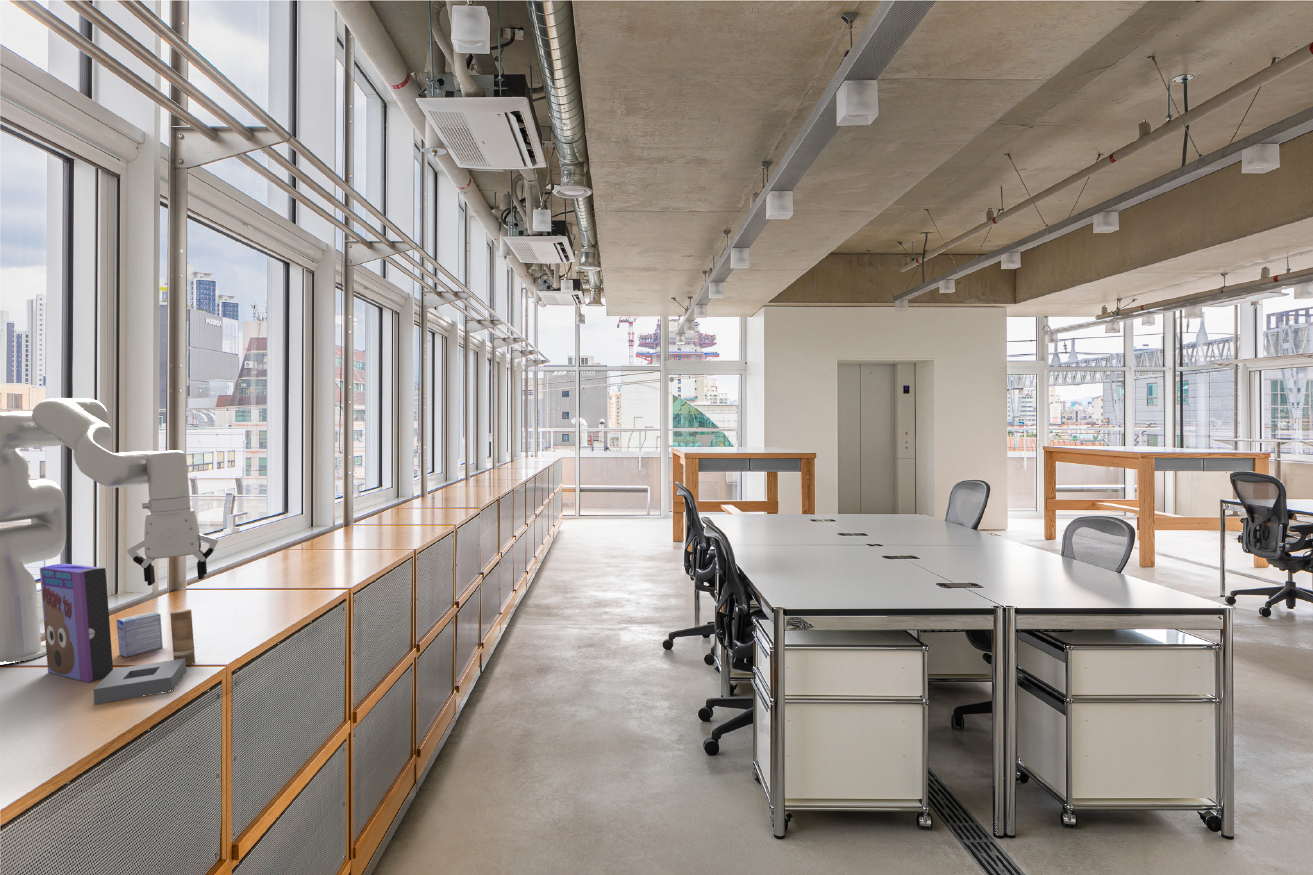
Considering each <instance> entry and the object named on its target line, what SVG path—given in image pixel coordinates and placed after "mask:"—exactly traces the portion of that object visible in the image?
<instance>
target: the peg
mask: <svg viewBox="0 0 1313 875" xmlns="http://www.w3.org/2000/svg"><path fill="white" fill-rule="evenodd" d="M170 625H171V626H170V627H171V642H172V656H173V660H176V659H183V658H185V661H186V665H188V666H191V665H193V664H192V663H194V662H195V663H196V656H195V655H196V654H195V643H194V640H195V639H194V628H193V614H192V609H191V608H185V609H178V610H175V611H174V610H173V611H171V612H170ZM195 663H194V664H195ZM190 664H191V665H190Z"/></svg>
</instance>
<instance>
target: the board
mask: <svg viewBox="0 0 1313 875" xmlns="http://www.w3.org/2000/svg"><path fill="white" fill-rule="evenodd" d="M185 672H186V673H187V666H186V661H185V658H183V659H176V660H174V659H171V660H170V659H169V660H164V661H163V660H162V661H158V662H151V663H145V664H137V665H130V666H124V667H117V668H113V670H112V671H111V672H110V673H109V674H108V675H107V676H106V677H105V678H104V679H101V680H100V682H99V683H98V684H97V685H96V686H95V687H94V688H93V702H94V705H98V704H105V703H111V702H118V701H124V700H130V699H135V698H134V697H137V698H142V697H141V696H143V695H149V694H155V695H158V694H157V693H161V692H167V693H169V692H168V691H170V690H171V691H172V690H173V689H174V688H175V689H176V687H177V686H178V684H179V683H180V682H181V680H182V679H181V678H183V677H184V676H185V674H186V673H185ZM183 675H184V676H183ZM180 679H181V680H180ZM178 682H179V683H178ZM177 683H178V684H177ZM176 685H177V686H176ZM175 686H176V687H175ZM175 689H174V690H175ZM174 690H173V691H174ZM161 694H162V693H161ZM149 696H150V695H149ZM143 697H144V696H143Z"/></svg>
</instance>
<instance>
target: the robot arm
mask: <svg viewBox="0 0 1313 875" xmlns="http://www.w3.org/2000/svg"><path fill="white" fill-rule="evenodd" d="M108 422H109V413H108V410H107V409H106V407H105V406H104V405H103V404H102V403H101V402H100V401H98V400H96V399H92V398H83V397H82V398H79V397H78V398H77V397H72V398H71V397H70V398H69V397H68V398H66V397H58V398H57V397H55V398H54V397H53V398H48V399H44V400H43V401H40V402H39V403H38V404H36V405H35V406H34V408H33V409H32V411H8V412H7V411H4V412H0V523H10V522H19V521H25V520H30V523H29V524H22V525H12V526H8V527H1V528H0V662H4V661H6V662H13V661H15V662H16V661H17V662H18V661H24V662H27V660H28V661H32V660H35V659H37V658H41V657H43V656H45V655H47V653H46V644H42V642H41V641H42V632H41V629H40V628H41V626H40V616H39V614H40V613H39V605H38V604H39V603H38V602H39V601H38V592H37V590H38V589H37V582H36V580H35V577H34V576H33V574H31V572H30V571H29V570H28V569H27V568H26V567H25V565H28V564H32V563H37V562H43V561H47V560H50V559H51V560H52V559H53V558H56V557H59V555H60V554H62V552H63V551H64V549H65V546H66V543H67V542H66V541H67V539H66V538H67V531H66V530H67V529H66V528H67V526H66V524H67V523H66V522H67V521H66V515H67V514H66V498H65V494H64V492H63V490H62V488H61V487H60V486H59V485H58V484H57V483H56V482H55V481H54V480H49V479H43V478H42V479H30V478H29V477H30V476H29V462H28V461H27V459H26V457H25V456H24V455H23V453H22V452H20V450H19V448H39V447H40V448H42V447H56V446H63V445H65V446H66V447H68V448H69V449H71V450H72V451H73V460H74V461H75V464H76V467H77V468H78V470H79V471H80V472H81V473H82V474H83V475H85V476H86V477H88V478H89V479H91V480H93V481H95V483H98V484H100V485H102V486H104V487H109V488H124V487H129V486H130V487H131V486H141V485H147V486H148V488H147V489H148V496H149V499H148V501H147V502H142V504H141V507H142V508H141V509H142V510H149V512H150V513H147V514H146V515H145V520H144V532H143V533H144V534H143V535H144V536H143V538H144V539H143V540H142V541H141V542H138V543H137V544H135V545H134V546H132V547H130V548H128V549H127V550H126V553H127V554H128V555H129V556H130V558H131V559H132V561H133V562H134V563H136V564H137V565H139V566H140V567H141V568H142V569H143V579H144V582H147V586H148V587H149V586H152V585H153V584H155V583H156V578H155V566H154V565H153V564H152V563H153V562H154V561H155V560H157V559H158V560H159V559H167V558H176V557H185V556H191V555H193V557H194V558H196V559H197V562H196V569H197V578H198V580H203V579H204V578H205V576H206V575H207V574H208V569H207V568H208V567H207V560H208V558H209V557H210V556H211V555H212V554H213V553H214V552H215V550H216V548H217V545H218V544H219V539H218V538H214V537H211V536H208V535H205V534H202V533H200V528H199V522H198V518H197V516H196V512H195V509H194V508H193V509H191V497H190V486H189V476H188V475H189V474H188V461H187V456H186V453H185V452H184V451H183V450H163V451H162V450H160V451H156V450H155V451H154V450H146V451H145V450H144V451H143V450H142V451H128V452H115V453H113V452H111V451H109V450H107V449H106V448H108V446H109V445H110V443H112V442H111V441H112V439H113V430H112V428H111V427H110V426H109V424H108ZM202 542H203V543H205V544H206V543H207V544H209V545H208V548H207V549H206V550H205V552H204V551H203V550H201V548H202ZM141 549H144V555H145V557H146V558H144V557H143V556H141V555H140V553H139V552H138V551H139V550H141ZM34 658H35V659H34Z"/></svg>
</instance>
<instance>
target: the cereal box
mask: <svg viewBox="0 0 1313 875" xmlns="http://www.w3.org/2000/svg"><path fill="white" fill-rule="evenodd" d="M39 577H40V589H41V590H40V591H41V600H42V601H41V602H42V612H43V613H42V614H43V624H44V628H43V629H44V639H45V645H46V653H47V654H46V663H47V672H48V674H50V675H54V676H59V677H61V678H62V677H63V678H65V679H71V680H74V681H78V682H82V683H86V684H91V683H94V682H97V681H102V680H103V679H104V678H105V677H106V676H107V675H108V674H109V673H110V672H111V671H112V670H113V669H114V665H113V662H114V661H113V651H112V650H113V649H112V640H111V639H112V638H111V623H110V612H109V611H110V609H109V599H108V586H107V585H108V583H107V572H106V567H99V566H89V565H81V564H71V563H56V564H49V565H46V566H42V567H39Z"/></svg>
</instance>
